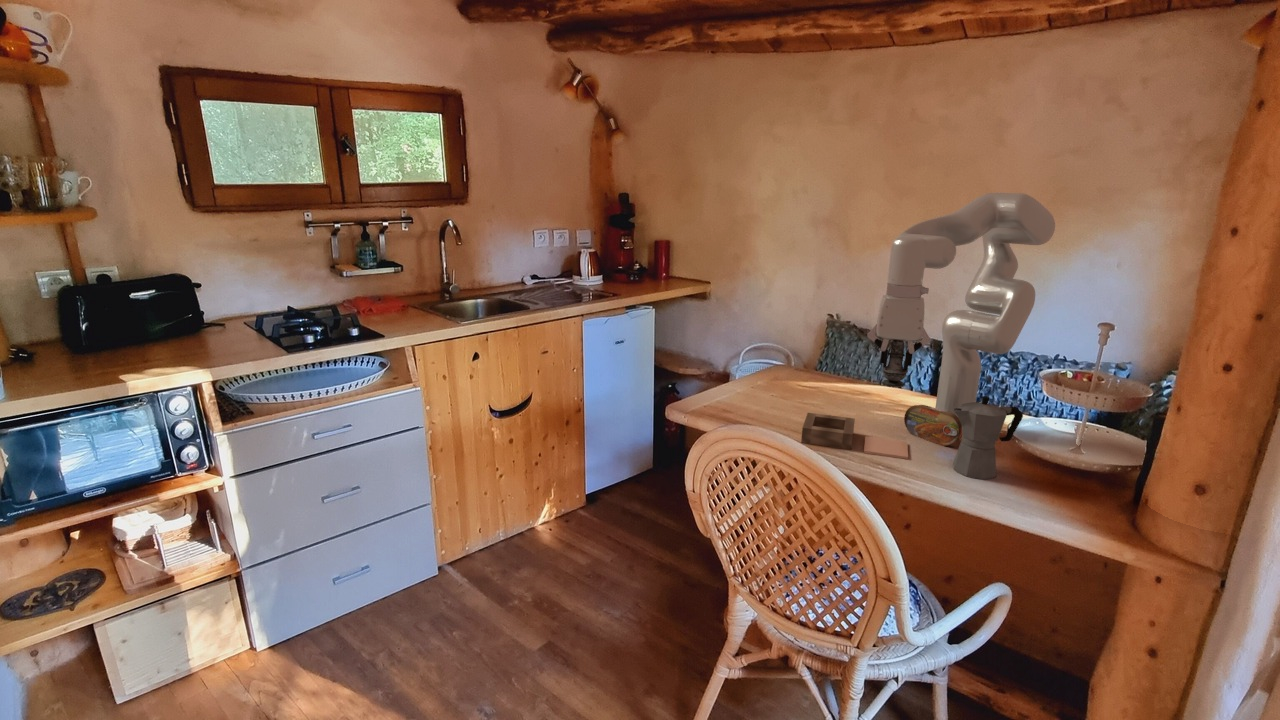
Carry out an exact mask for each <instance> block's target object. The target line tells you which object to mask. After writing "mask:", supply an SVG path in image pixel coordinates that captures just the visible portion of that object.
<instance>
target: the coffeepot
mask: <svg viewBox="0 0 1280 720" xmlns="http://www.w3.org/2000/svg"><path fill="white" fill-rule="evenodd" d="M990 399H991V398H990V396H988V395H982V396H981V402H977V401H976V402H972V403H965V404H962V407H957V408H954V410H953V412H955V413H956V414H957V416H958V418H959V420H960V422H961V424H962V437H961V441H960V443H959V446H958V449H957V452H956V454H955V456H954V458H953V459H954V460H953V463H952V469H953V470H954V471H955V472H956V473H957V474H959V475H961V476H964V477H967V478H970V479H976V480H990V479H993V478H995V477H997V469H996V468H997V460H996V459H997V458H996V442H997V441H998V440H999V439H1000V441H1001V442H1010V441H1011V440H1012V437H1013V436H1014V434H1015V432H1016V430H1017V429H1018V427H1019V425H1020V423H1021V421H1022V420H1023V418H1024V415H1023V412H1022V411H1021V410H1020V409H1019V407H1017V406H1007V405H1006V406H1005V405H1003V406H1000V407H999V406H996V405H994V404H991V403H989V401H990ZM1012 415H1013V418H1012V420H1011V423H1010V426H1009V427H1008V428H1007V431H1006V435H1005V436H1003V437H1002V436H1000V434H1001V432H1002V430H1003V426H1004V424H1005V421H1006V418H1007V416H1012Z"/></svg>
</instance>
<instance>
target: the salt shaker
mask: <svg viewBox="0 0 1280 720" xmlns="http://www.w3.org/2000/svg"><path fill="white" fill-rule="evenodd" d="M890 344H891V345H890V352H888V356H889V360H888V363H887V365H886V367H885V368H883V367H882V368H881V371H882V375H883V377H884V378H885V380H882V381H881V384H882V385H883V386H886V387H890V388H904V387H905V386H906V384H905V383H904V382H903V381H902V380H904V379H905V378H906V376H907V373H909V370H905V369H904V364H903V363H904V362H903V361H904V357H905V355H906V354H905V353H904V351H905V349H904V348H905V341H904V340H891V343H890Z"/></svg>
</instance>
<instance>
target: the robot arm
mask: <svg viewBox="0 0 1280 720" xmlns="http://www.w3.org/2000/svg"><path fill="white" fill-rule="evenodd" d="M1055 221H1056V219H1055V218H1054V215H1053V214H1052V213H1051V211H1050V210H1048V208H1046V207H1045V206H1044V205H1043V204H1042V203H1041V202H1040V201H1038V200H1037V199H1036V198H1034V197H1033V196H1031V195H1029V194H1027V193H1023V192H1022V193H1021V192H1013V193H1012V192H989V193H988V192H987V193H983V194H981V195H980V196H978V197H976V198H975V199H974V200H971V201H969V202H968V203H966V205H964V206H962V207H961V208H959V209H957V211H955V212H952V213H948V214H944V215H940V216H937V217H935V218H934V217H933V218H930V219H927V220H923V221H921V222H918V223H916V224H913V225H912V226H910V227H908V228H907V229H905V230H903V231H902V232H901V233H900V234H899V235H897V237H896V238H894V239H893V240H892V242H891V248H890V256H889V267H888V274H887V275H888V276H887V283H886V284H887V285H886V294H883V295H882V297H881V300H880V304H879V309H878V316H877V319H876V320H877V322H876V324H875V325H874V326H873V327H872V329H870V331H869V332H868V333H866V334H867V335H866V337H867V338H868V339H869V340H871V341H872V343H874V344H875V345H876V346H877V348H879V349H880V351H881V352H880V354H881V355H880V362H879V363H880V364H882V368H885V367H886V366H888V363H887V362H888V356H889V349H888V344H889V341H890V340H891V341H893V340H903V341H904V342H907V347H908V348H907V349H906V351H905V354H904V355H905V356H904V364H903V368H904V369H905V370H908V368H909V367H912V363H913V362H912V360H913V356H914V355H913V354H915V352H917V351H918V350H919V349H920V348H922V347H924V346H926V345H928V344H930V343H931V341H932V339H931V337H930V336H929V334H928V332H927V330H926V329H925V327H924V324H925V297H922V296H923V295H925V294H927V295H928V294H929V290H930V289H929V287H925V286H924V285H923V282H924V274H925V269H926V268H927V269H933V270H935V269H936V270H939V269H945V268H947V267H948V266H949V265H951V264H952V263H953V261H954V260H955V258H956V255H957V246H964V245H969V244H971V243H973V242H976V241H977V240H978V239H980V238H981V237H982V243H983V244H982V245H983V260H982V261H981V264H980V266H979V268H978V270H977V271H976V273H975V275H974V277H973V279H972V280H971V283H970V284H969V287H968V289H967V291H966V293H965V297H964V298H965V299H964V300H965V304H966V306H967V307H968V308H969V309H972V310H966V309H958V310H953V311H951V312H949V313H948V314H947V315H946V316H945V317H944V319H943V322H942V328H941V335H942V356H941V363H940V364H941V365H940V372H939V378H938V385H937V386H938V387H937V395H936V400H935V401H936V402H935V407H934V408H936V409H940V410H943V411H947V412H950V413H953V414H955V415H956V416H957V414H956V413H955V412H953V410H954V408H957V407H962V404H965V403H972V402H976V403H977V397H978V390H979V384H980V377H981V372H982V362H981V361H982V360H981V357H980V354H979V353H978V351H980V352H985V353H988V354H989V353H990V354H996V355H1003V354H1006V353H1008V352H1009V351H1010V350H1012V348H1013V347H1014V345H1015V344H1016V341H1017V340H1018V338H1019V336H1020V334H1021V332H1022V330H1023V328H1024V327H1025V324H1026V323H1027V320H1028V319H1029V316H1030V315H1031V313H1032V310H1033V308H1034V306H1035V303H1036V289H1035V287H1034V286H1033V284H1032V283H1030V282H1028V281H1026V280H1022V279H1016V278H1015V275H1016V273H1017V271H1018V270H1019V269H1018V268H1019V262H1018V259H1017V256H1016V254H1015V253H1014V251H1013V249H1012V247H1011V245H1010V244H1014V245H1024V246H1025V245H1026V246H1027V245H1028V246H1041V245H1045V244H1046V243H1048V242H1050V240H1051V239H1052V238H1053V236H1054V233H1055V230H1056V222H1055ZM881 339H882V340H881ZM914 342H915V343H914ZM908 371H909V370H908ZM957 417H958V416H957Z"/></svg>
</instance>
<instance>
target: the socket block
mask: <svg viewBox="0 0 1280 720" xmlns="http://www.w3.org/2000/svg"><path fill="white" fill-rule="evenodd" d="M855 420H856V419H855V418H852V417H846V416H845V417H844V416H836V415H831V414H830V415H829V414H821V413H815V412H807V413H806V416H805V419H804V422H803V425H802V429H801V430H802V431H801V439H800V440H801V442H800V443H803V444H809V445H817V446H822V447H829V448H838V449H843V450H844V449H845V450H851V451H852V443H853V437H854V429H855Z"/></svg>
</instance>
